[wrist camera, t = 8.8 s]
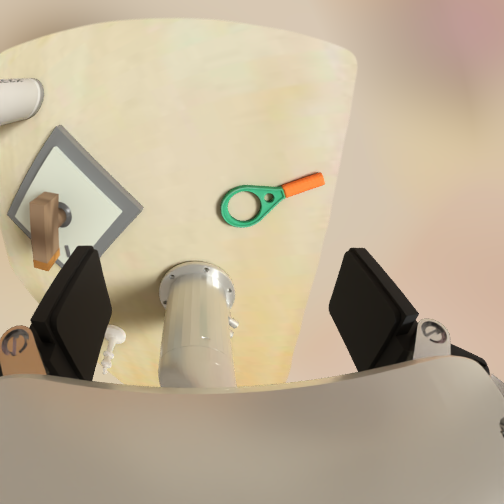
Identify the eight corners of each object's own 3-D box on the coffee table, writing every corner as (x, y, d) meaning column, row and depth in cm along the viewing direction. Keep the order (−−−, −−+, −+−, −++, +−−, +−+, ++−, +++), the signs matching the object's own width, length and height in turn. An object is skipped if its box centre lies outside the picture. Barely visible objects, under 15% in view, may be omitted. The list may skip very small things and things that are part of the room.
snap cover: (143, 207, 37) (139, 214, 34) (81, 277, 41) (76, 287, 38) (61, 124, 28) (52, 127, 26) (11, 210, 32) (3, 217, 30)
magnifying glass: (229, 230, 41) (230, 235, 40) (213, 195, 38) (213, 199, 36) (324, 194, 40) (329, 198, 39) (314, 157, 37) (319, 160, 35)
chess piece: (105, 340, 49) (95, 378, 40) (101, 323, 46) (88, 363, 38) (127, 342, 50) (119, 382, 41) (124, 326, 47) (114, 367, 39)
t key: (53, 184, 30) (28, 202, 24) (67, 187, 30) (44, 206, 25) (54, 242, 34) (34, 267, 28) (67, 246, 34) (48, 271, 29)
